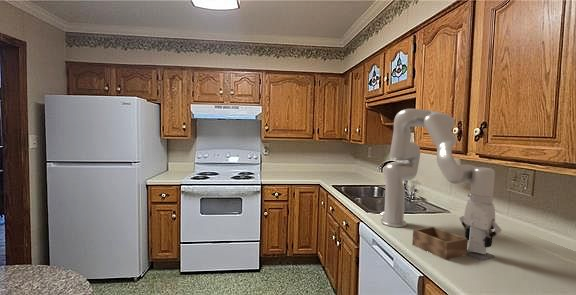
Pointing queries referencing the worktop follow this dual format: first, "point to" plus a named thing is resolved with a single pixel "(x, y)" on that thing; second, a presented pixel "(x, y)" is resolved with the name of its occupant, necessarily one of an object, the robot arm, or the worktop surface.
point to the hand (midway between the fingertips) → (477, 242)
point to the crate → (440, 242)
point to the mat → (479, 255)
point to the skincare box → (477, 240)
